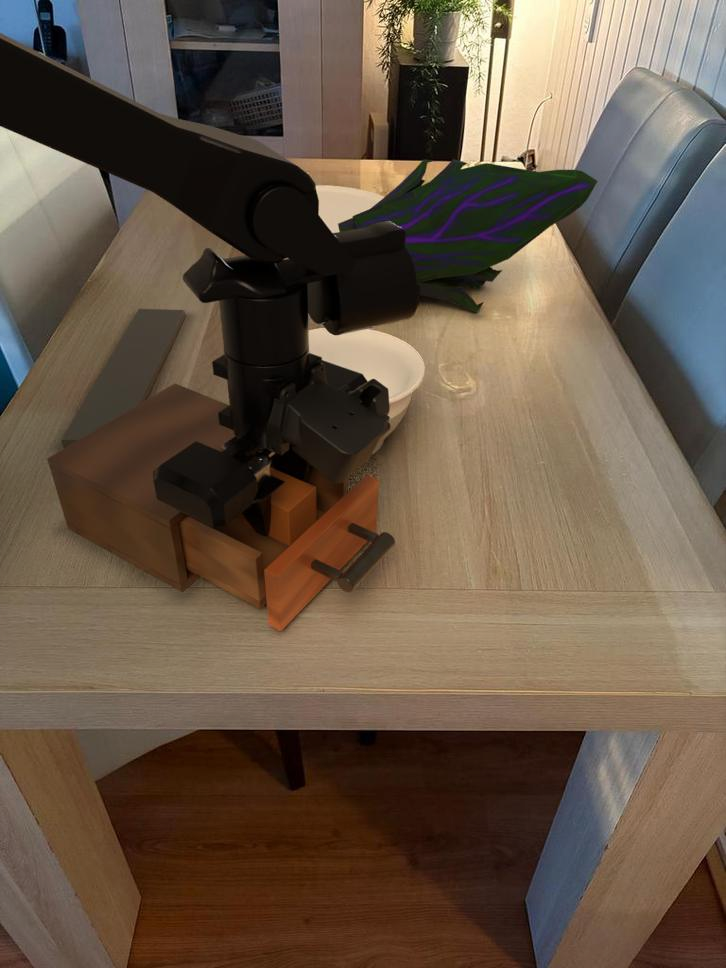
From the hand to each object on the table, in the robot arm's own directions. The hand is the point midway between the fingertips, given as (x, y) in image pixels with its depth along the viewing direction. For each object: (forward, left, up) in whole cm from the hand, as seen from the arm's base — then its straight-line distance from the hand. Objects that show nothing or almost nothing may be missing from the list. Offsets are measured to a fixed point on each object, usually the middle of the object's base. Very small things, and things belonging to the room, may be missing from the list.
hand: (277, 520), depth 60 cm
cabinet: (-11, +3, -4) cm, 12 cm away
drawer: (+1, 0, -3) cm, 4 cm away
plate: (-27, +81, -4) cm, 86 cm away
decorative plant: (+1, +57, -4) cm, 57 cm away
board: (-28, +23, -4) cm, 37 cm away
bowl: (-1, +19, -4) cm, 20 cm away
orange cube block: (0, 0, 0) cm, 0 cm away
